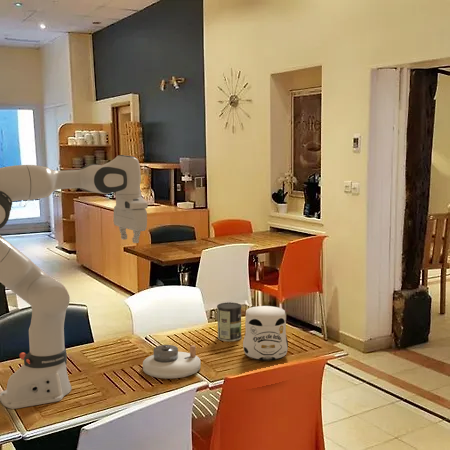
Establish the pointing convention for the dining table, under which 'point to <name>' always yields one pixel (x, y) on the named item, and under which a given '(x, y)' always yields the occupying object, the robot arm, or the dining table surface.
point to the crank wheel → (173, 365)
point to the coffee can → (229, 321)
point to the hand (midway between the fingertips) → (129, 241)
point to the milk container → (265, 333)
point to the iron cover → (165, 353)
